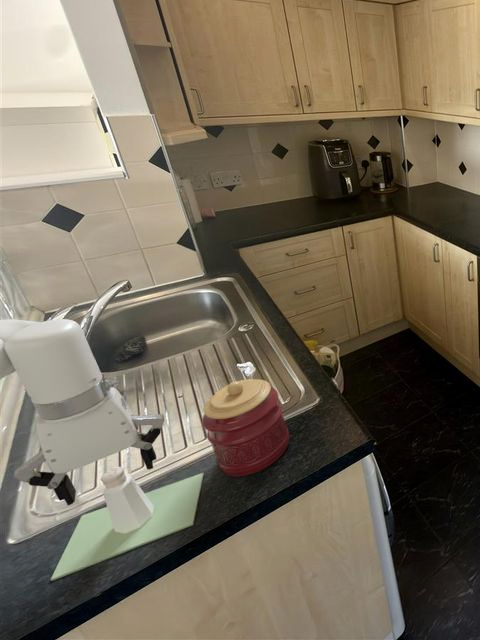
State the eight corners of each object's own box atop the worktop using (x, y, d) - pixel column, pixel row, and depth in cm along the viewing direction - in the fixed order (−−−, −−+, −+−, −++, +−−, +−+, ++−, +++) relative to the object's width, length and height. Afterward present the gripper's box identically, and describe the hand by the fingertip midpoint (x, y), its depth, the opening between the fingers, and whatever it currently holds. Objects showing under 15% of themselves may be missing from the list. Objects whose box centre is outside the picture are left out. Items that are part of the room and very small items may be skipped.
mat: (51, 581, 63) (50, 579, 62) (82, 517, 73) (81, 515, 72) (193, 525, 70) (192, 523, 70) (204, 473, 80) (203, 472, 80)
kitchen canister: (283, 420, 94) (264, 355, 87) (297, 453, 84) (277, 384, 78) (215, 450, 86) (189, 381, 80) (224, 491, 77) (195, 417, 70)
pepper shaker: (148, 500, 75) (126, 454, 71) (160, 514, 72) (138, 468, 68) (110, 524, 71) (84, 477, 67) (120, 540, 68) (95, 492, 64)
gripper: (146, 364, 70) (175, 440, 76) (-9, 412, 59) (40, 497, 65) (148, 384, 65) (179, 465, 71) (-21, 441, 54) (33, 531, 60)
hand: (113, 480), depth 68 cm, fingers open, 9 cm apart
